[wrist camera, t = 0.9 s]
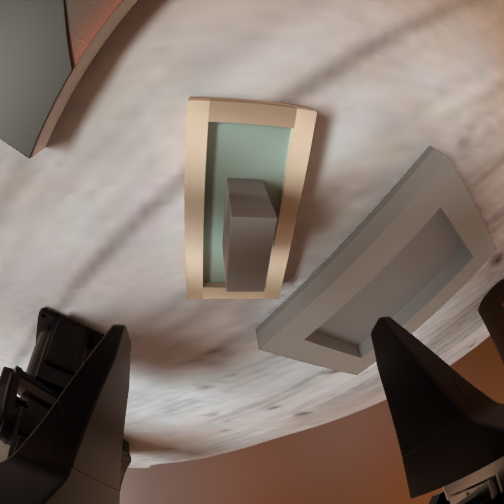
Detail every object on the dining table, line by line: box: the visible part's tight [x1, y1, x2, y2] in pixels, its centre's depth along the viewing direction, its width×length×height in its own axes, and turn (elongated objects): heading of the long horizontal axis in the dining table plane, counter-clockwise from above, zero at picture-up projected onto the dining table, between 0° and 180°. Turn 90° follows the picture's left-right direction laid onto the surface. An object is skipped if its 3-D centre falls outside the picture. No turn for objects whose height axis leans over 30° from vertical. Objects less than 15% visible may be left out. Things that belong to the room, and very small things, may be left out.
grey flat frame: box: [256, 146, 496, 375], centre depth 22 cm, size 19×13×2 cm
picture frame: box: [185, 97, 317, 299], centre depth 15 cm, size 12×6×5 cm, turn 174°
